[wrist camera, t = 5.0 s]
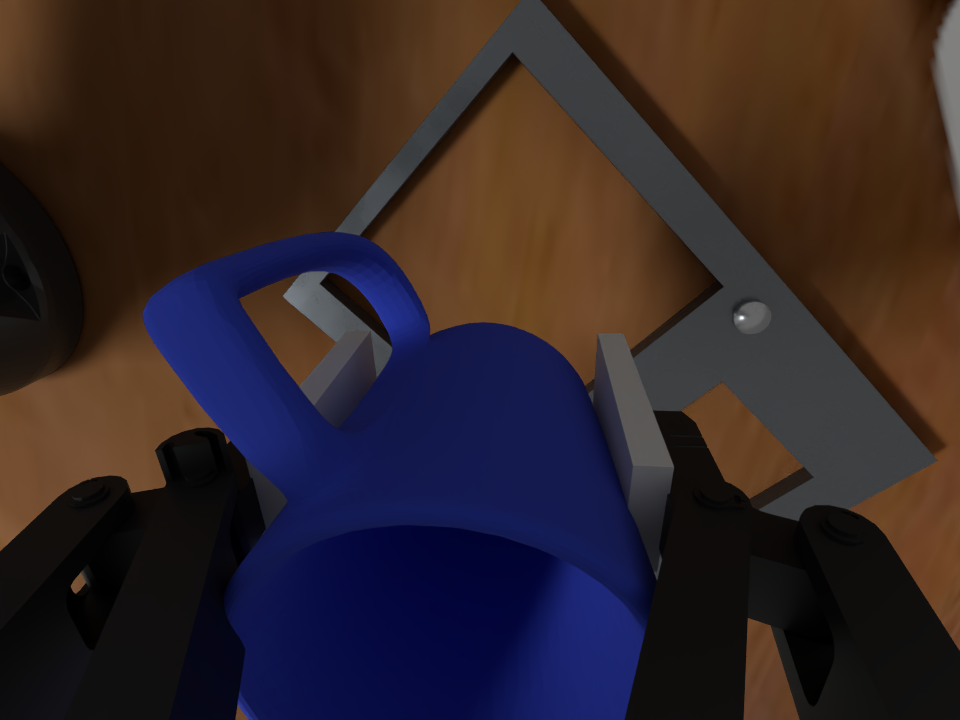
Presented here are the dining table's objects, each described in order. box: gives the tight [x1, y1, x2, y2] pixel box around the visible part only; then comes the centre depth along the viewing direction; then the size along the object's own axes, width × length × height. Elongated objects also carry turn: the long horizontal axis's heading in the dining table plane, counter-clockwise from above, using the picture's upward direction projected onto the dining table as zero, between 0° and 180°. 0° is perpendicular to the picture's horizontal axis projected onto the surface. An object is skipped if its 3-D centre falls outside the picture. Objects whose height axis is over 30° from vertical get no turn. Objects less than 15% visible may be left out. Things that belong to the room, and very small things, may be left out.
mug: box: [143, 232, 657, 720], centre depth 13 cm, size 8×12×10 cm
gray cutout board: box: [283, 0, 938, 579], centre depth 27 cm, size 30×18×1 cm, turn 47°
